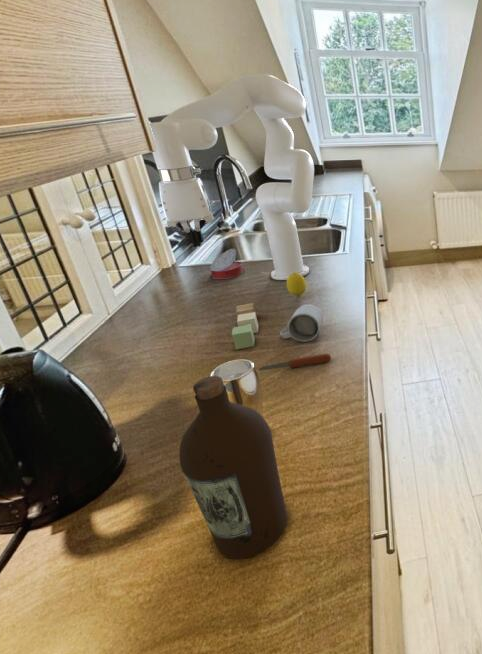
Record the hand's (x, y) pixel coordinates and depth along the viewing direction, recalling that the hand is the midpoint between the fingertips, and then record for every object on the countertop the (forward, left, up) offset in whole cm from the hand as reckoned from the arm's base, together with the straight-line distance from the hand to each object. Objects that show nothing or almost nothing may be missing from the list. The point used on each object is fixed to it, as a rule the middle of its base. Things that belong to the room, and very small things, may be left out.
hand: (198, 245), depth 119 cm
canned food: (-38, -1, -22) cm, 44 cm away
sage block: (+19, +8, -22) cm, 30 cm away
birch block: (+5, +8, -22) cm, 24 cm away
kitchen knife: (+36, +20, -22) cm, 46 cm away
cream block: (+12, +9, -22) cm, 26 cm away
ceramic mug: (+21, +22, -22) cm, 37 cm away
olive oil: (+78, +13, -22) cm, 82 cm away
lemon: (-6, +22, -22) cm, 32 cm away
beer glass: (+58, +12, -22) cm, 63 cm away
